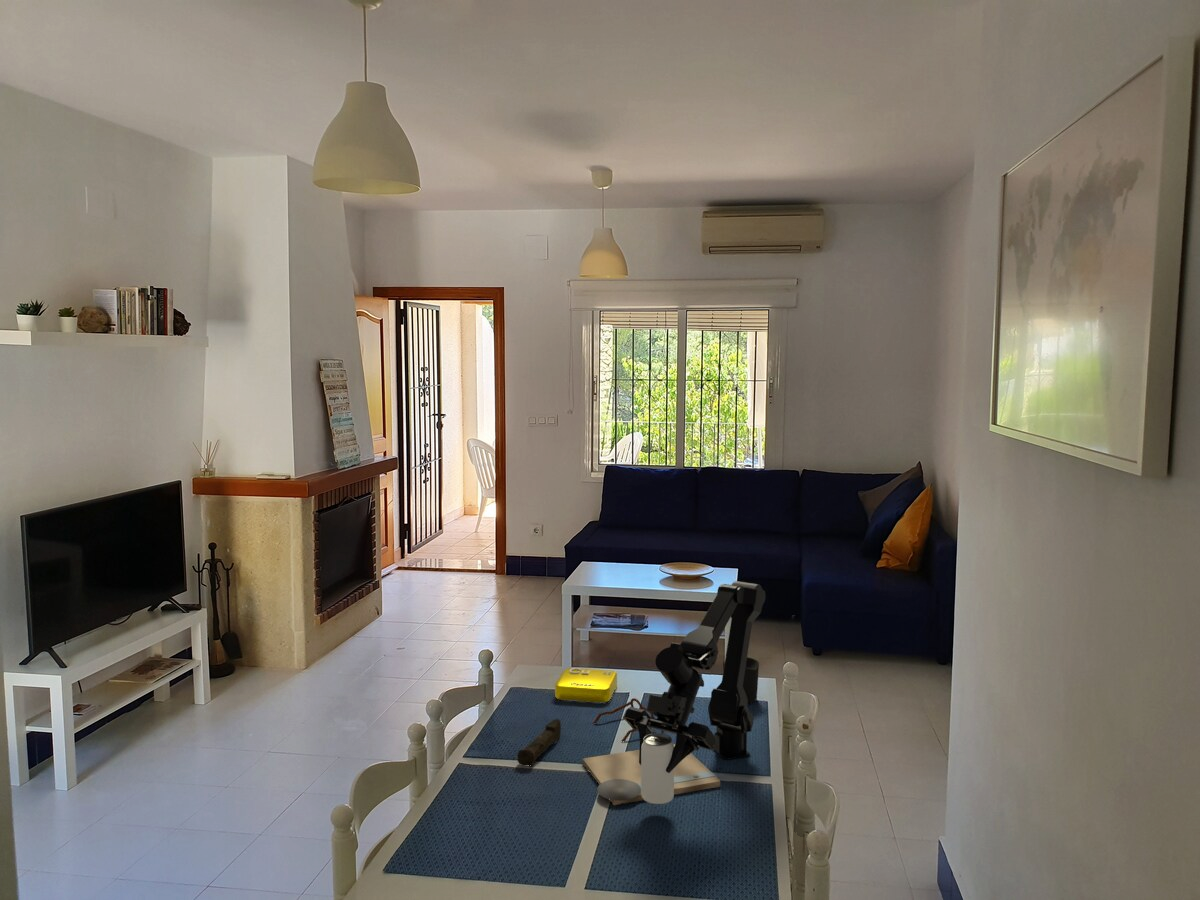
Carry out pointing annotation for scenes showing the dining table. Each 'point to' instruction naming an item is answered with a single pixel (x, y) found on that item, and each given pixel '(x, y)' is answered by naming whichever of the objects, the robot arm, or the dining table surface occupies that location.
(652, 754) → the can
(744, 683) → the pen holder
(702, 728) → the robot arm
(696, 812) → the dining table surface
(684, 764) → the subfloor panel
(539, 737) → the hand tool
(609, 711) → the glasses
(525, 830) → the dining table surface
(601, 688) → the element tile
